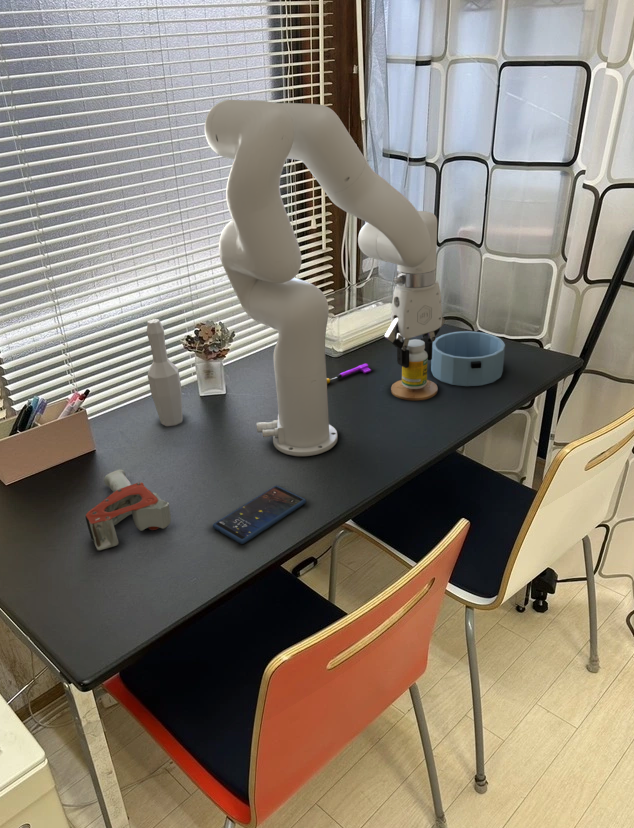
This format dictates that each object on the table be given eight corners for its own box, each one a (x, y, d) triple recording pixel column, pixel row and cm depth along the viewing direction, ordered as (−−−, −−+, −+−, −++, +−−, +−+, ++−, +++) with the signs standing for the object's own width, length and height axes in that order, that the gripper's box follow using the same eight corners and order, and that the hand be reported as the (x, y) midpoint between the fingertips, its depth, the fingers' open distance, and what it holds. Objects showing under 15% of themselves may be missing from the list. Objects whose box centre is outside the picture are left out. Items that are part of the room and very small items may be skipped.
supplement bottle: (402, 378, 156) (403, 337, 150) (427, 379, 155) (428, 337, 149) (400, 389, 151) (401, 347, 146) (426, 390, 150) (427, 347, 145)
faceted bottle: (161, 430, 145) (141, 329, 134) (153, 418, 150) (133, 319, 139) (190, 423, 147) (173, 322, 136) (182, 411, 152) (165, 313, 141)
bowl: (438, 390, 153) (439, 362, 149) (425, 358, 168) (426, 332, 164) (511, 385, 152) (514, 357, 149) (491, 353, 167) (493, 327, 164)
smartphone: (307, 499, 119) (241, 542, 110) (307, 503, 120) (242, 546, 111) (276, 483, 124) (210, 524, 115) (276, 487, 124) (211, 528, 115)
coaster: (394, 402, 149) (394, 399, 149) (388, 381, 158) (388, 379, 158) (441, 399, 149) (441, 396, 149) (433, 379, 158) (433, 376, 157)
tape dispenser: (117, 486, 131) (54, 546, 115) (111, 460, 129) (45, 518, 112) (203, 492, 126) (150, 556, 109) (199, 466, 123) (143, 527, 107)
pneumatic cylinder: (365, 365, 165) (311, 387, 158) (366, 361, 165) (311, 383, 157) (373, 371, 164) (318, 393, 156) (373, 367, 163) (318, 389, 156)
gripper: (393, 291, 134) (392, 378, 144) (462, 272, 141) (457, 357, 151) (370, 282, 140) (371, 366, 149) (437, 264, 147) (434, 346, 156)
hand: (414, 361), depth 150 cm, fingers closed on supplement bottle, 5 cm apart
